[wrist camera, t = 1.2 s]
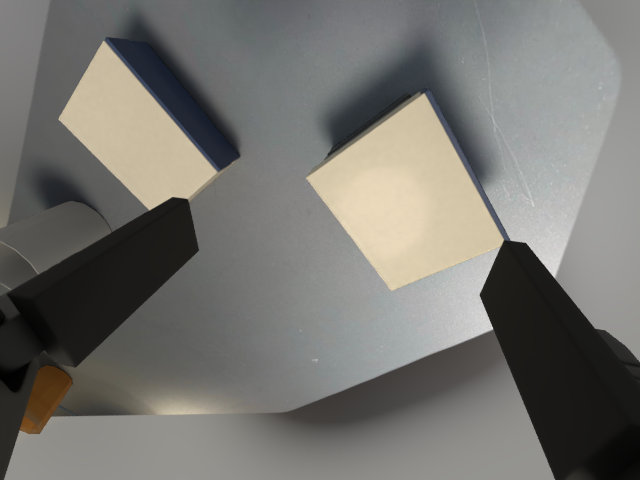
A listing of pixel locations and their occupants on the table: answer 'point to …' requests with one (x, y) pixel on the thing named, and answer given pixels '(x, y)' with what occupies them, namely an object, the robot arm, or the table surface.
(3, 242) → the cup
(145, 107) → the cream stack
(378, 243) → the cream book
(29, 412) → the potted plant
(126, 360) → the table surface
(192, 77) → the table surface
